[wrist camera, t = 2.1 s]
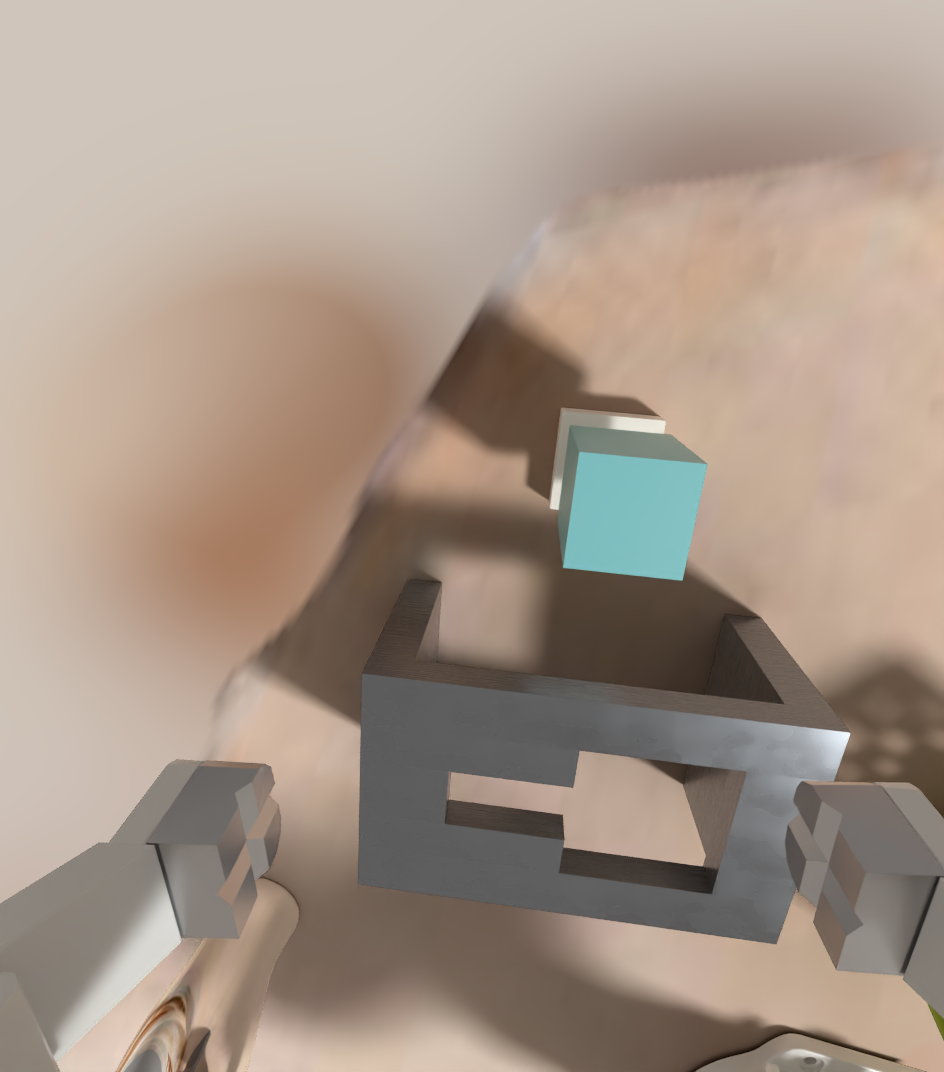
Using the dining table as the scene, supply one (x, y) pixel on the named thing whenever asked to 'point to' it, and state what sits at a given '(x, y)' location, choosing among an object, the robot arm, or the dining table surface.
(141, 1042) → the beer glass
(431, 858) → the keyhole bracket
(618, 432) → the peg
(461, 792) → the dining table surface
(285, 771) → the dining table surface
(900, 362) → the dining table surface
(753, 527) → the dining table surface
